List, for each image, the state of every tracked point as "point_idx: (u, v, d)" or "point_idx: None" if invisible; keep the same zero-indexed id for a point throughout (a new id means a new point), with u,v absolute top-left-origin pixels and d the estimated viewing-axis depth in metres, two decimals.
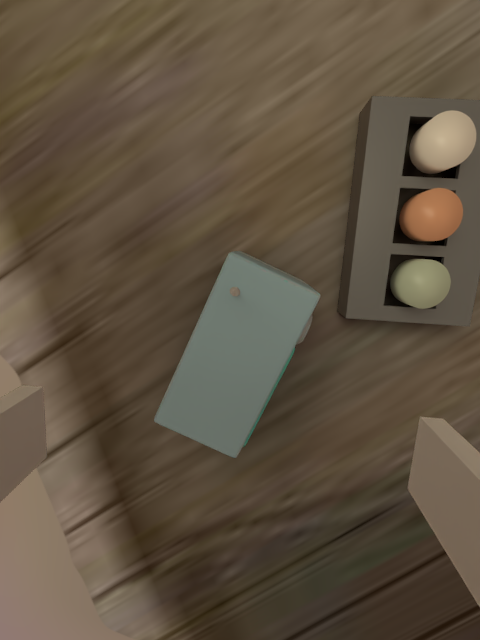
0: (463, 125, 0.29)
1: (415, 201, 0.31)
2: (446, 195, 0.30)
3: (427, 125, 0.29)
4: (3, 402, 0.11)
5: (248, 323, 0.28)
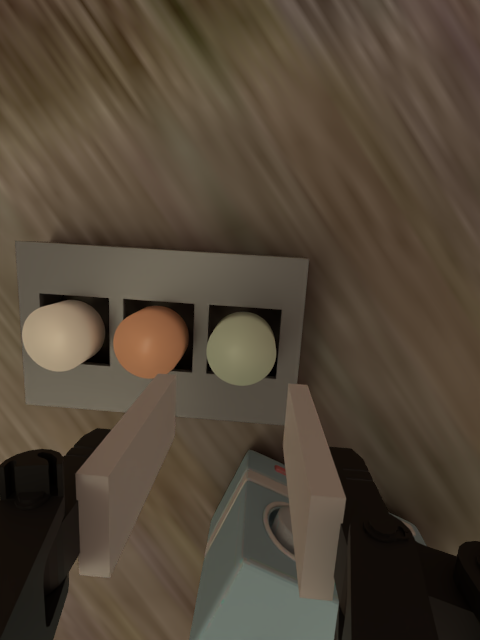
0: (37, 322, 0.23)
1: (131, 372, 0.23)
2: (122, 335, 0.23)
3: (41, 365, 0.23)
4: (156, 387, 0.13)
5: None
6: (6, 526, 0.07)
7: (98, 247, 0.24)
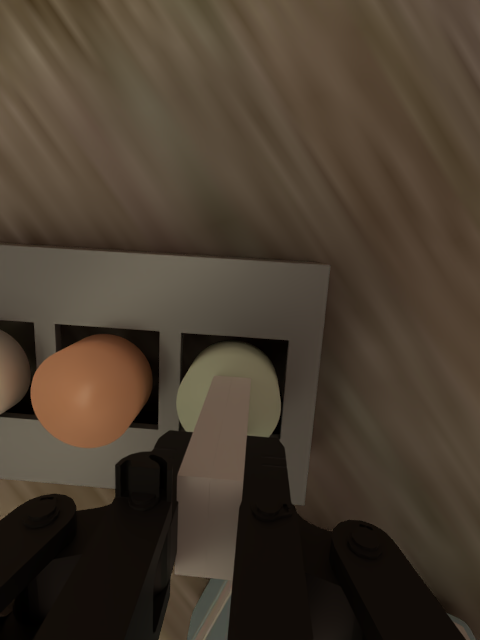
0: None
1: (61, 438, 0.15)
2: (43, 383, 0.15)
3: None
4: (218, 389, 0.13)
5: None
6: (121, 525, 0.07)
7: (15, 248, 0.16)
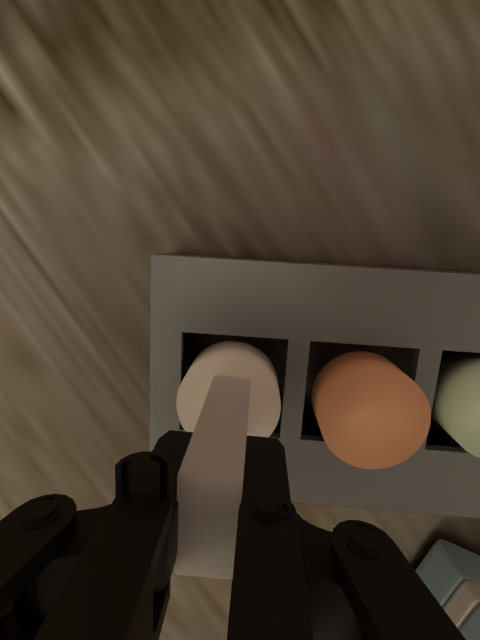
0: (203, 381, 0.15)
1: (344, 459, 0.15)
2: (336, 404, 0.14)
3: None
4: (218, 389, 0.13)
5: None
6: (122, 525, 0.07)
7: (280, 264, 0.16)
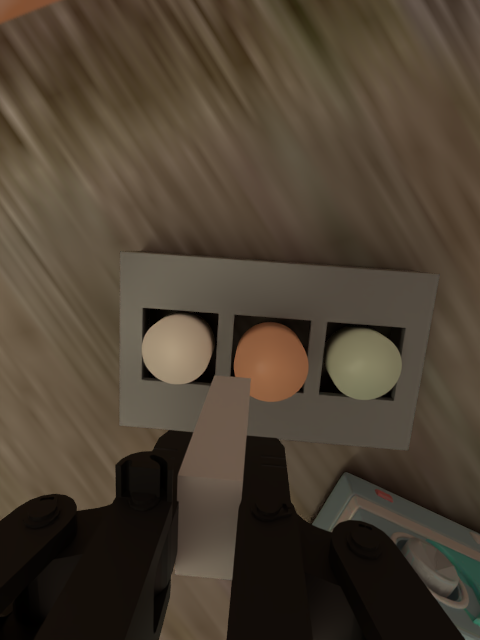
0: (159, 335, 0.23)
1: (251, 395, 0.22)
2: (244, 355, 0.21)
3: (159, 377, 0.23)
4: (218, 389, 0.13)
5: None
6: (122, 525, 0.07)
7: (211, 259, 0.22)
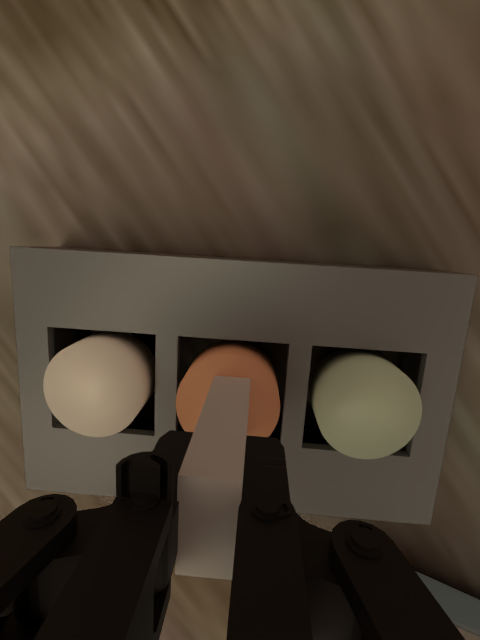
0: (66, 367, 0.15)
1: None
2: (189, 390, 0.15)
3: (71, 427, 0.16)
4: (218, 389, 0.13)
5: None
6: (122, 525, 0.07)
7: (141, 256, 0.15)
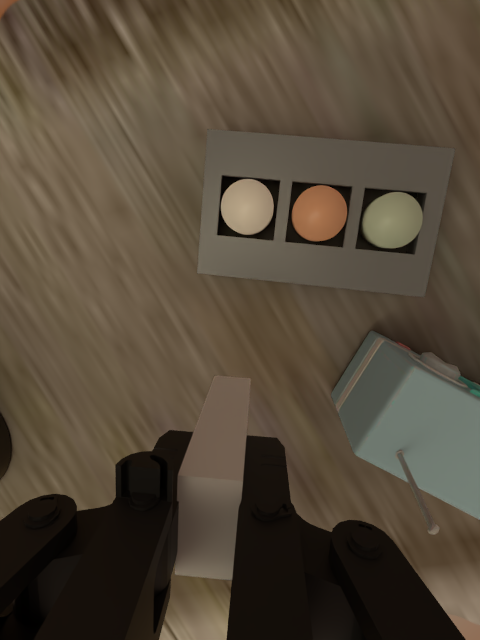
0: (235, 193, 0.30)
1: (304, 236, 0.30)
2: (300, 204, 0.29)
3: (233, 228, 0.30)
4: (218, 389, 0.13)
5: (437, 443, 0.25)
6: (122, 525, 0.07)
7: (277, 135, 0.29)
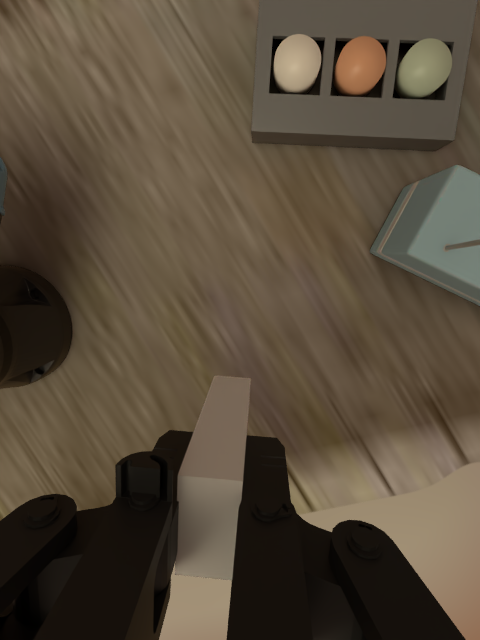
0: (286, 48, 0.33)
1: (348, 85, 0.34)
2: (345, 55, 0.33)
3: (285, 82, 0.34)
4: (218, 389, 0.13)
5: (479, 235, 0.29)
6: (122, 525, 0.07)
7: None
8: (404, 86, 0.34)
